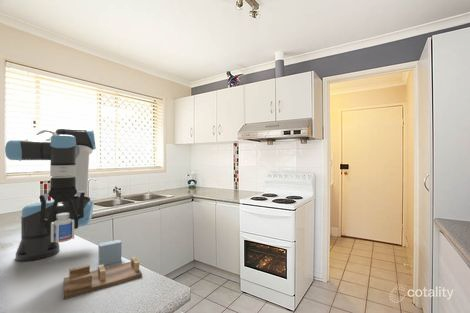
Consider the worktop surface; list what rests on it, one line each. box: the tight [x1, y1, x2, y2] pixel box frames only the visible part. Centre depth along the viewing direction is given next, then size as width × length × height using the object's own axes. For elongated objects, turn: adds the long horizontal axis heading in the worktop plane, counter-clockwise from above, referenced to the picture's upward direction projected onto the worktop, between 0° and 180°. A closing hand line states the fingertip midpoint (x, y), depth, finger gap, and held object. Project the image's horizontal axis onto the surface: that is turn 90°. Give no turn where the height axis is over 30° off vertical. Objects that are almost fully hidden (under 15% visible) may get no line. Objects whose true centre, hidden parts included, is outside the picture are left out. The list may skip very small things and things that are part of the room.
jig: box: [63, 256, 143, 300], centre depth 83 cm, size 13×23×4 cm, turn 126°
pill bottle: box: [54, 213, 73, 243], centre depth 85 cm, size 6×5×10 cm
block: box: [98, 239, 122, 266], centre depth 97 cm, size 4×8×8 cm, turn 126°
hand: (62, 239), depth 85 cm, fingers closed on pill bottle, 5 cm apart
